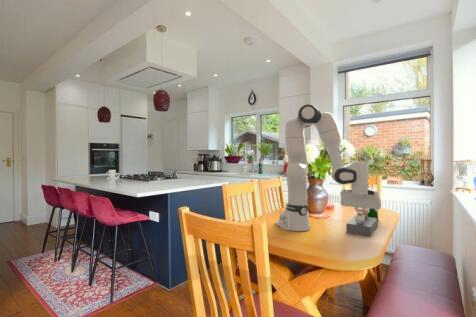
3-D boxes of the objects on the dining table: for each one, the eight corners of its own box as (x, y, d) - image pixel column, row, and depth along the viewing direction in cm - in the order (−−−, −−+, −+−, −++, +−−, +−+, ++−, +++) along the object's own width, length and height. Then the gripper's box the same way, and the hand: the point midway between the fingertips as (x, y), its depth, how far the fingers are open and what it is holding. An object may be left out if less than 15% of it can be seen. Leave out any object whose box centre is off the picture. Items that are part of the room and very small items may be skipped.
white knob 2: (368, 219, 149) (368, 208, 149) (360, 218, 152) (360, 207, 152) (370, 218, 153) (370, 206, 153) (361, 217, 156) (361, 206, 155)
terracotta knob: (366, 222, 143) (366, 210, 143) (357, 221, 145) (357, 209, 145) (367, 220, 146) (367, 209, 146) (359, 219, 149) (359, 208, 149)
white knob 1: (363, 229, 136) (363, 216, 136) (354, 228, 139) (354, 215, 139) (365, 227, 140) (365, 215, 140) (356, 226, 143) (356, 214, 143)
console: (370, 236, 133) (370, 226, 133) (346, 232, 140) (346, 223, 140) (377, 226, 152) (377, 218, 152) (355, 223, 159) (355, 215, 159)
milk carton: (380, 221, 164) (380, 190, 164) (369, 222, 161) (369, 191, 161) (369, 218, 172) (369, 189, 172) (359, 219, 169) (359, 189, 169)
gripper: (338, 189, 143) (339, 214, 143) (380, 192, 131) (380, 219, 131) (341, 188, 148) (342, 212, 148) (381, 191, 136) (381, 216, 136)
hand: (360, 215), depth 139 cm, fingers closed, pressing on white knob 1
